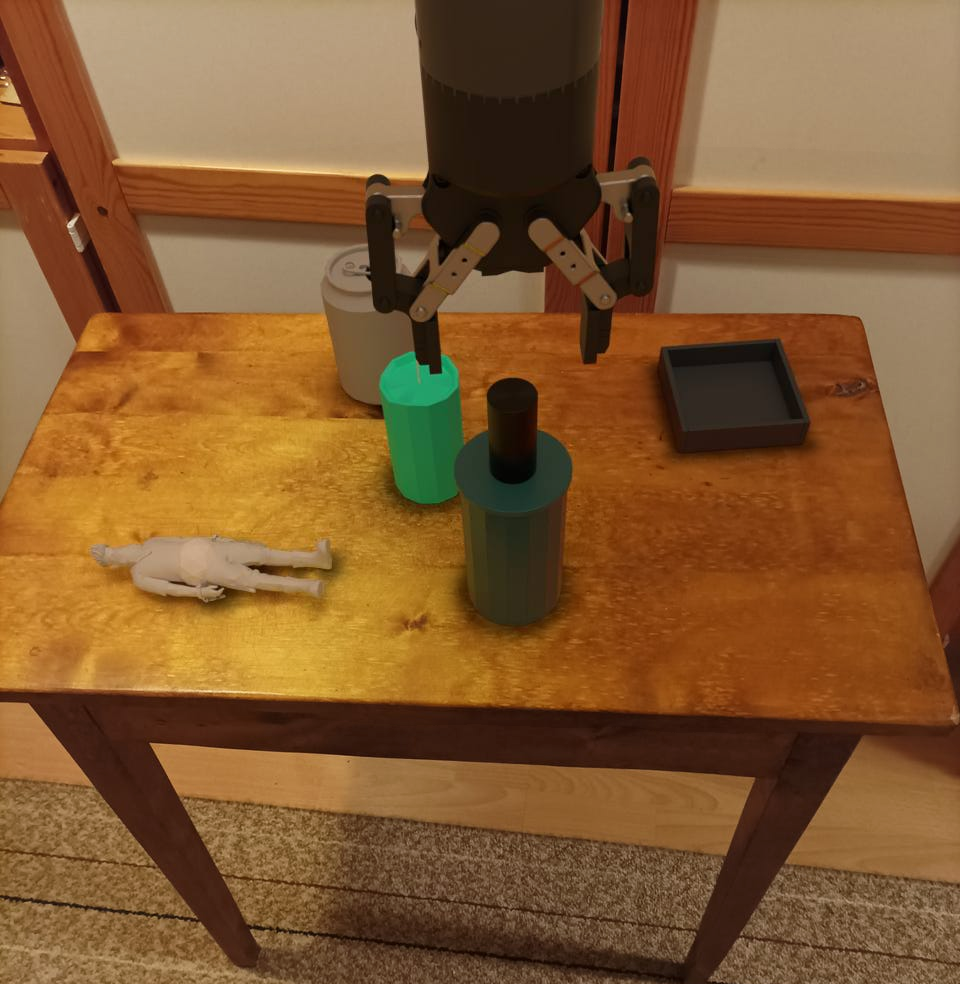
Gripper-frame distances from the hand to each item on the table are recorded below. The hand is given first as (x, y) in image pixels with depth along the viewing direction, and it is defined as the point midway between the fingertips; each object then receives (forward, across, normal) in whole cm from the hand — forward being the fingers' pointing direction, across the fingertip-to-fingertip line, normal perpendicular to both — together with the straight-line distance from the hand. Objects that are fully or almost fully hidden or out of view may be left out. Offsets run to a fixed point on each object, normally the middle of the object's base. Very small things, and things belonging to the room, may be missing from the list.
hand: (512, 359), depth 51 cm
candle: (+22, -6, +12) cm, 26 cm away
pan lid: (+9, 0, 0) cm, 9 cm away
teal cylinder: (+22, 0, 0) cm, 22 cm away
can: (+22, -10, +24) cm, 34 cm away
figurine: (+22, -23, +3) cm, 32 cm away
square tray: (+22, +20, +18) cm, 34 cm away
